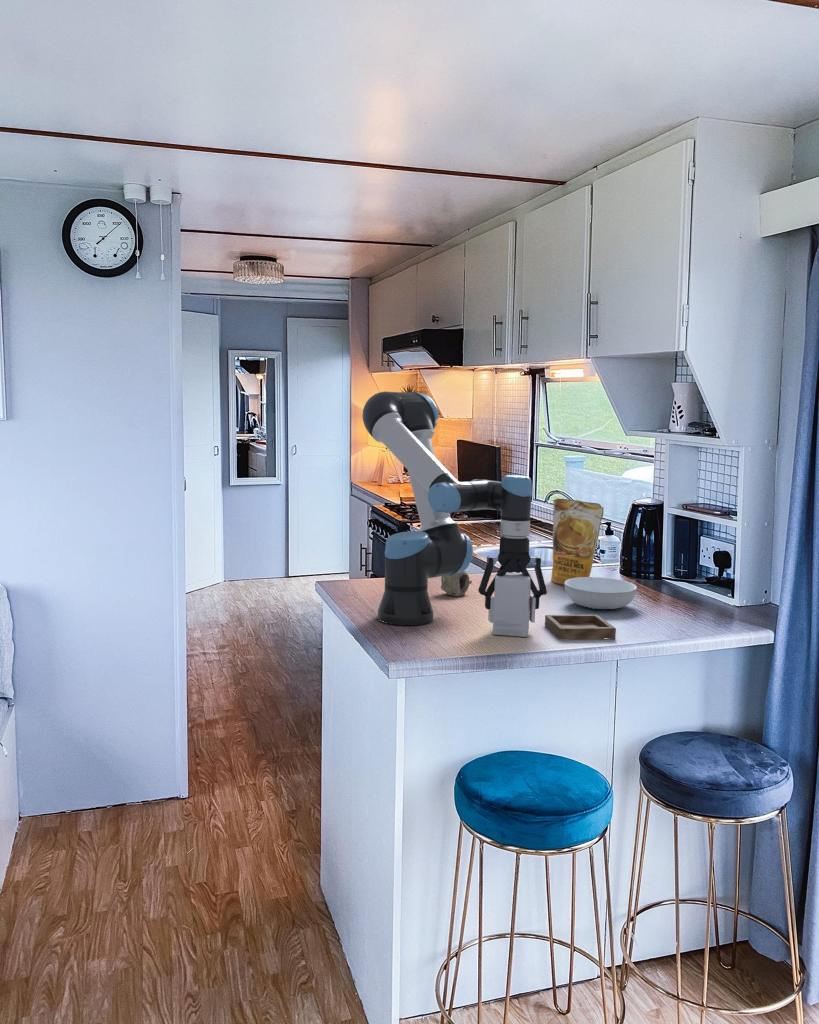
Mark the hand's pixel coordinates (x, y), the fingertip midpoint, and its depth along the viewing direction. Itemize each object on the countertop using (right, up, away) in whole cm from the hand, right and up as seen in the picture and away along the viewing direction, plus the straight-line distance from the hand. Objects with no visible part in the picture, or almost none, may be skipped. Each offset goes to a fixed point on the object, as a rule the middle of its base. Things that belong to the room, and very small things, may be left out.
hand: (511, 621), depth 223 cm
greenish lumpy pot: (-12, +3, +44) cm, 46 cm away
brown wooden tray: (+18, -3, +2) cm, 18 cm away
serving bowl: (+30, 0, +32) cm, 44 cm away
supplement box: (0, -3, 0) cm, 3 cm away
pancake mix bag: (+27, +4, +63) cm, 69 cm away
